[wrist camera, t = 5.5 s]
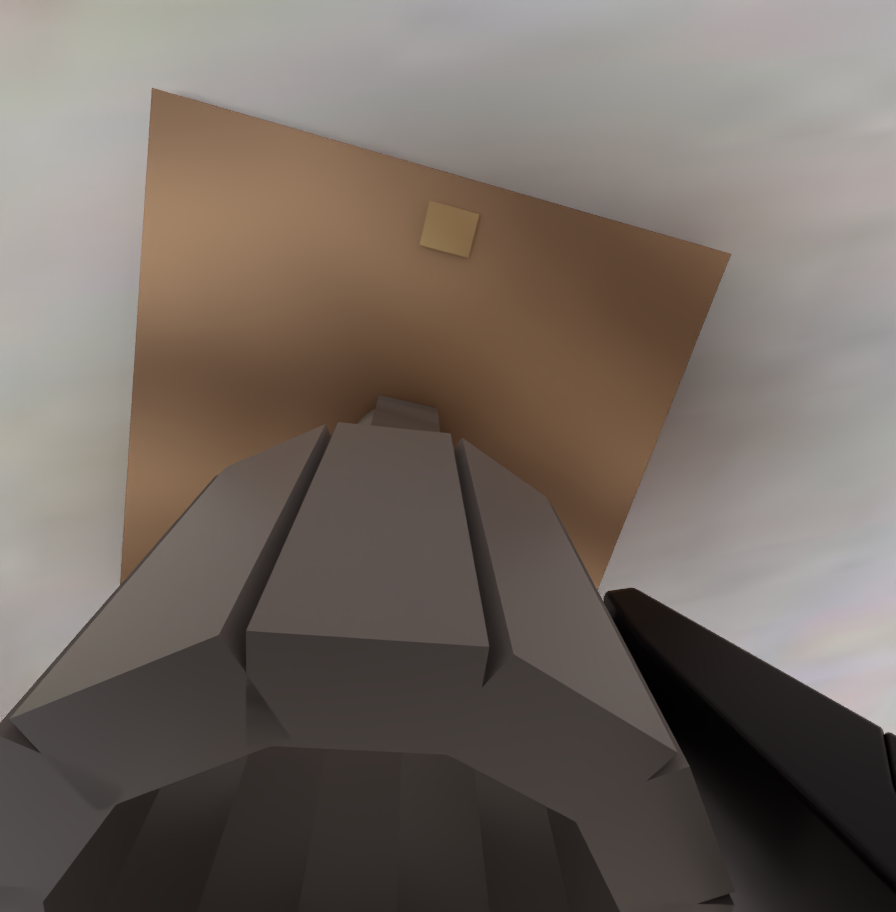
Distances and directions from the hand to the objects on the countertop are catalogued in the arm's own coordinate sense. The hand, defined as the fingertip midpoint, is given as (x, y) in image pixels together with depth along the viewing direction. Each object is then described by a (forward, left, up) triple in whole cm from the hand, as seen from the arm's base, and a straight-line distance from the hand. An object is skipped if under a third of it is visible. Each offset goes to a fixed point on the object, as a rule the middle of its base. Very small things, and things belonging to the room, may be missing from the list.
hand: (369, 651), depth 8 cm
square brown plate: (0, 0, -9) cm, 9 cm away
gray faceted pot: (0, 0, -1) cm, 1 cm away
